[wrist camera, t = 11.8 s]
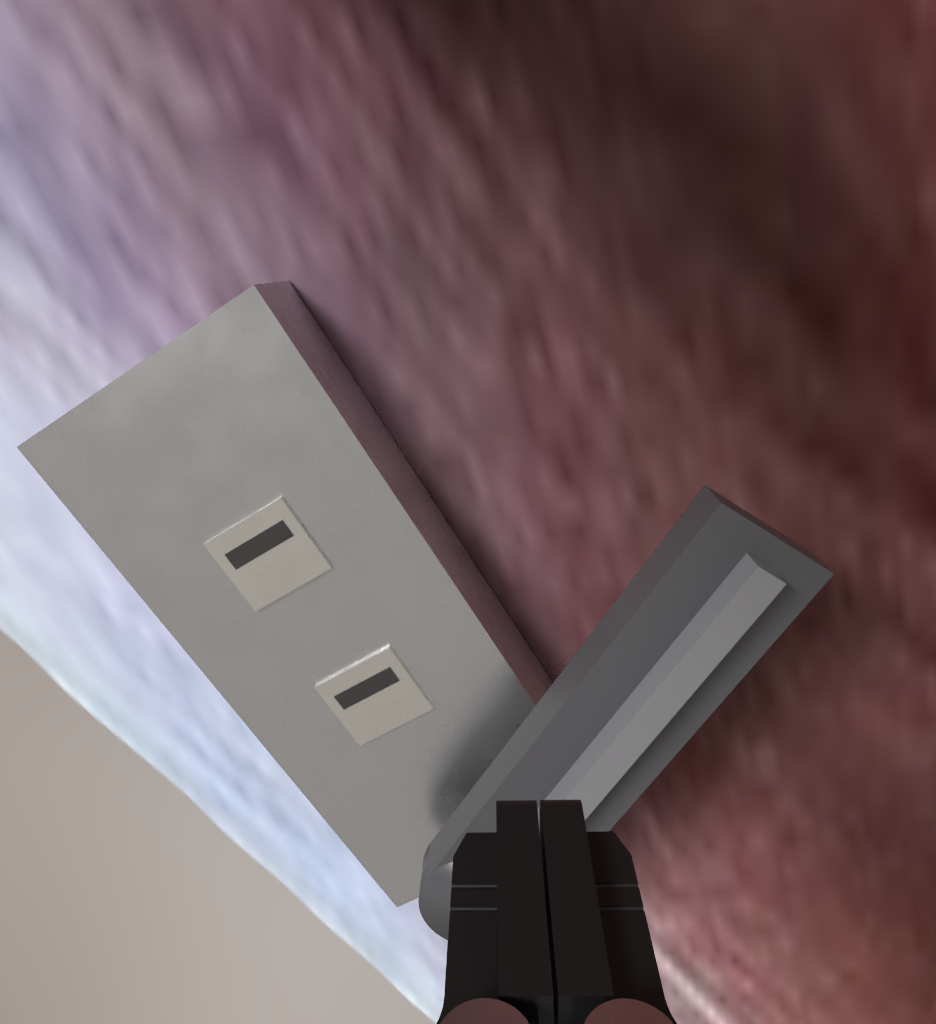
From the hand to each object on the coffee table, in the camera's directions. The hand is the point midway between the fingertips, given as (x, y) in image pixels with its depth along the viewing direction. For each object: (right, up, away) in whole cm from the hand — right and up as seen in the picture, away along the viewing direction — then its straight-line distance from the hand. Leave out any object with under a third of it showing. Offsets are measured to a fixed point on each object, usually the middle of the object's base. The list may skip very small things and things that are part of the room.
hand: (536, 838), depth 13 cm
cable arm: (+4, -3, +18) cm, 18 cm away
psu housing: (-7, +2, +24) cm, 25 cm away
